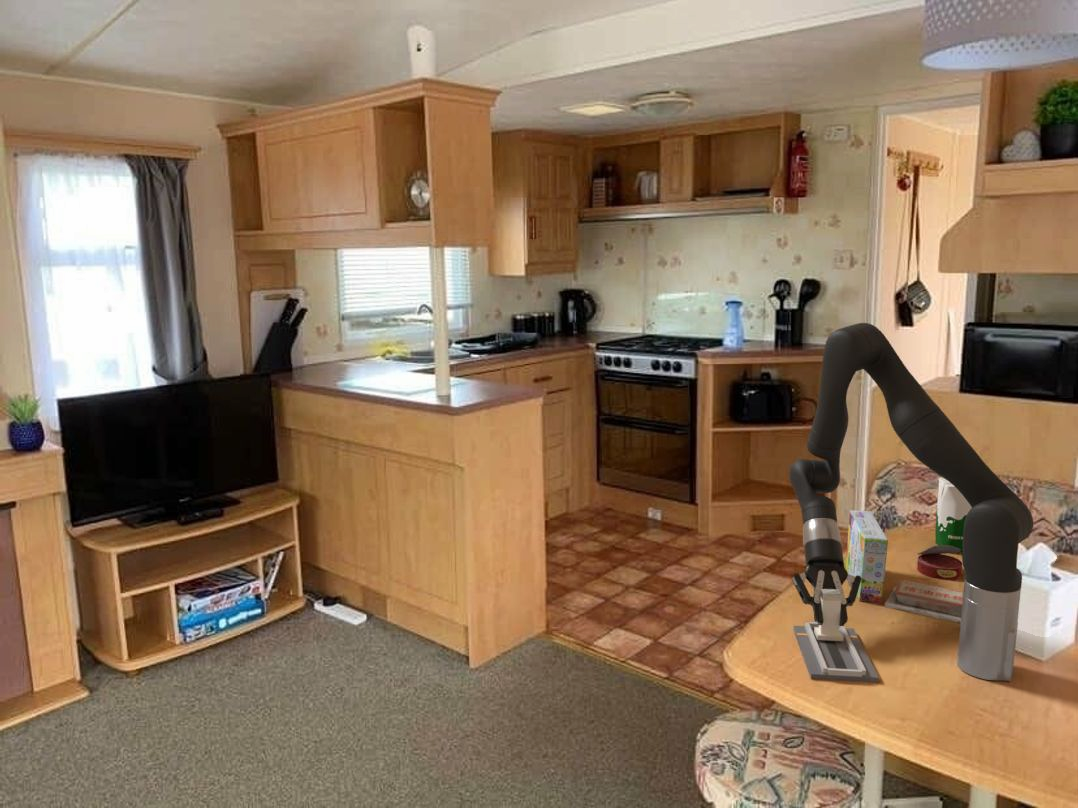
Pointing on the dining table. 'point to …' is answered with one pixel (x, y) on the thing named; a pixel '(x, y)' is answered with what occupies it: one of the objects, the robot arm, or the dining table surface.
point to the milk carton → (950, 515)
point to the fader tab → (830, 616)
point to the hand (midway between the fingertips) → (831, 624)
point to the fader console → (835, 656)
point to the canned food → (940, 563)
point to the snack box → (866, 554)
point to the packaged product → (926, 600)
